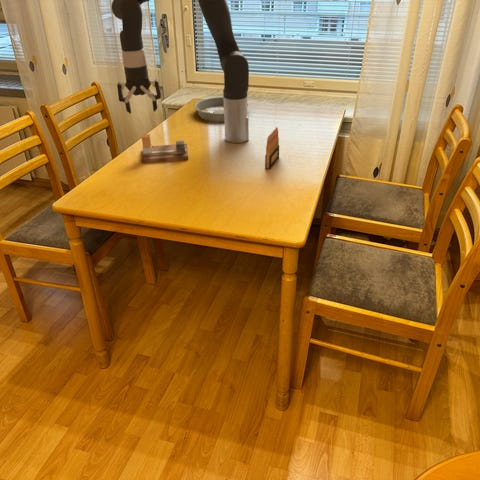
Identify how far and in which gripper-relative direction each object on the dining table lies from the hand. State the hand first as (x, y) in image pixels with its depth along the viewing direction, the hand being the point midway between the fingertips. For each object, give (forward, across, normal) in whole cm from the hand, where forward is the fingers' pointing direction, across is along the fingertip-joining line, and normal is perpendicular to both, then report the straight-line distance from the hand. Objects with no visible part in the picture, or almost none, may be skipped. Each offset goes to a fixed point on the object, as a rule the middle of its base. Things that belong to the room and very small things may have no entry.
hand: (142, 111), depth 160 cm
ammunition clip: (+19, -44, +12) cm, 49 cm away
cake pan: (+19, -32, -46) cm, 58 cm away
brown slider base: (+18, -6, -3) cm, 19 cm away
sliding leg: (+16, 0, -2) cm, 16 cm away
